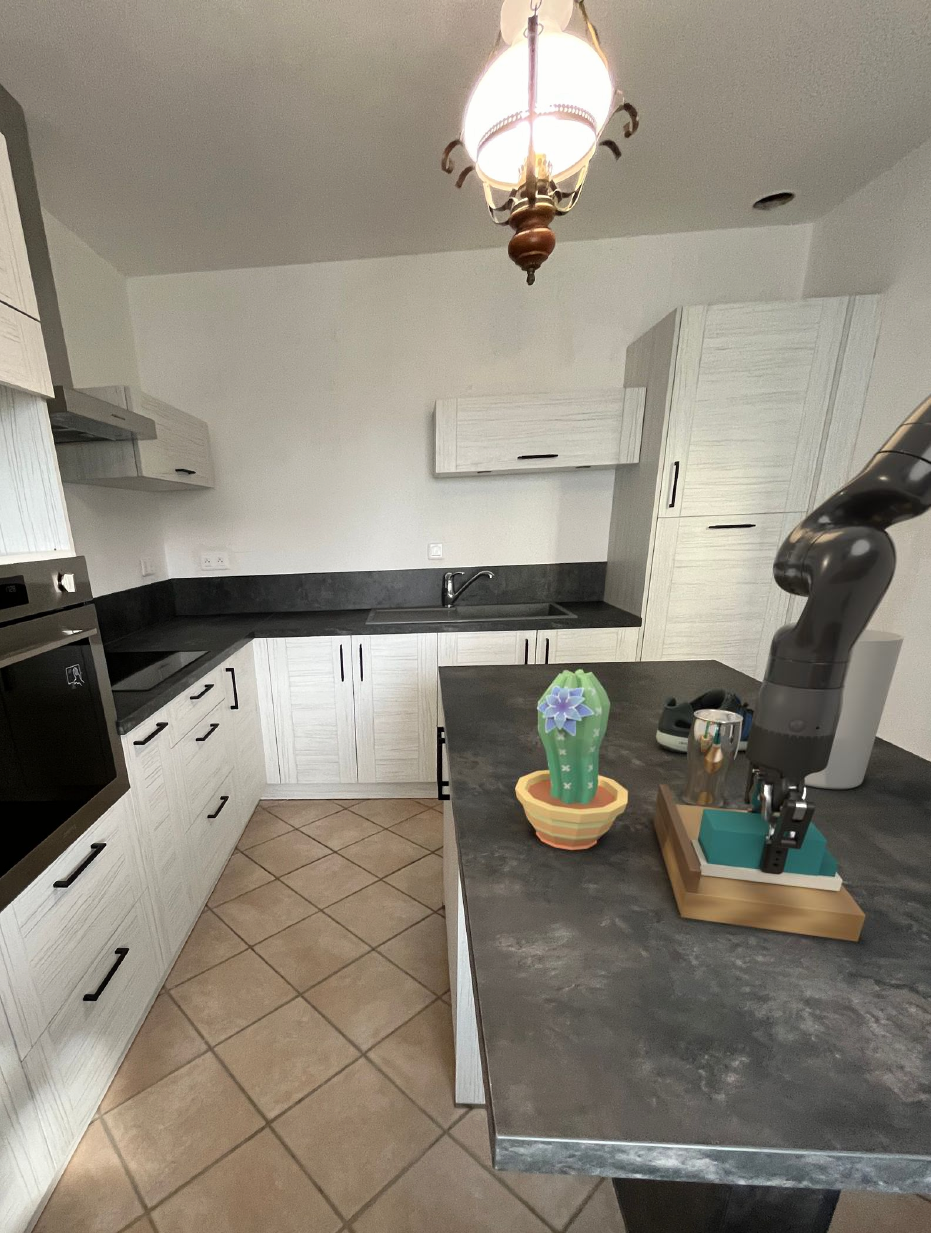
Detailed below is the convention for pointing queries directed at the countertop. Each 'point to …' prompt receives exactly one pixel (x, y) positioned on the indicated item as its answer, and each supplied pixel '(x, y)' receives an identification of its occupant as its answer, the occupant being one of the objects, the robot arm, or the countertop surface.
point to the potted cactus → (572, 766)
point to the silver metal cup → (711, 755)
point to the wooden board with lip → (745, 886)
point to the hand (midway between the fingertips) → (761, 857)
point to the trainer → (760, 852)
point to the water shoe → (680, 717)
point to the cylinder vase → (860, 710)
